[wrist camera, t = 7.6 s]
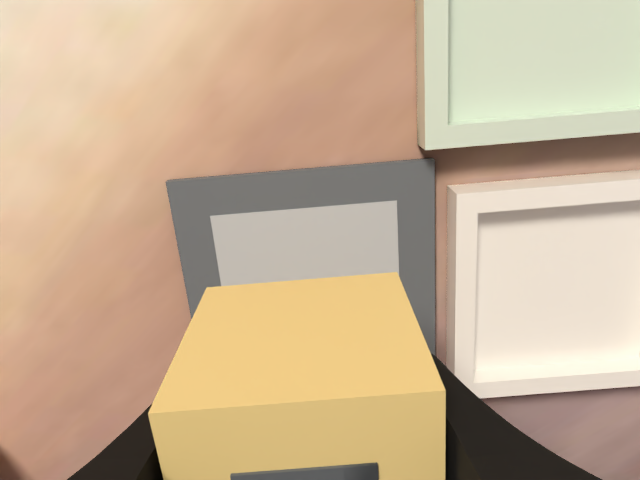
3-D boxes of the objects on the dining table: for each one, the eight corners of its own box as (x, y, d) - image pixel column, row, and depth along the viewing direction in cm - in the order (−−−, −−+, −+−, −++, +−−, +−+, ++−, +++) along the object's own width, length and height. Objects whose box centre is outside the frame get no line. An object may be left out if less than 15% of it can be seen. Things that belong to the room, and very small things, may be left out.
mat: (432, 158, 17) (434, 159, 17) (433, 382, 20) (435, 387, 20) (167, 179, 17) (165, 182, 17) (209, 400, 20) (207, 405, 20)
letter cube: (397, 272, 13) (446, 392, 8) (401, 427, 15) (445, 603, 10) (206, 287, 13) (146, 416, 8) (232, 440, 15) (196, 621, 10)
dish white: (680, 166, 17) (706, 173, 16) (647, 365, 20) (668, 383, 19) (447, 185, 17) (456, 194, 16) (446, 381, 20) (454, 400, 19)
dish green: (699, -168, 14) (733, -187, 13) (657, 124, 17) (682, 128, 16) (413, -141, 14) (422, -159, 13) (417, 144, 17) (425, 150, 16)
